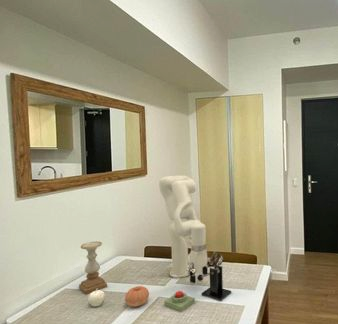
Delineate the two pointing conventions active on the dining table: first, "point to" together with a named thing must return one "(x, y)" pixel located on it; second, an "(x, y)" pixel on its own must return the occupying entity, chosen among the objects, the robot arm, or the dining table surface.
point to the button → (179, 294)
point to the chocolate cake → (215, 259)
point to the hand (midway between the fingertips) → (199, 278)
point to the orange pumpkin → (137, 296)
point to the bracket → (216, 285)
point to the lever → (200, 277)
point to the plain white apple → (96, 297)
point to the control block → (179, 302)
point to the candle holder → (92, 270)
